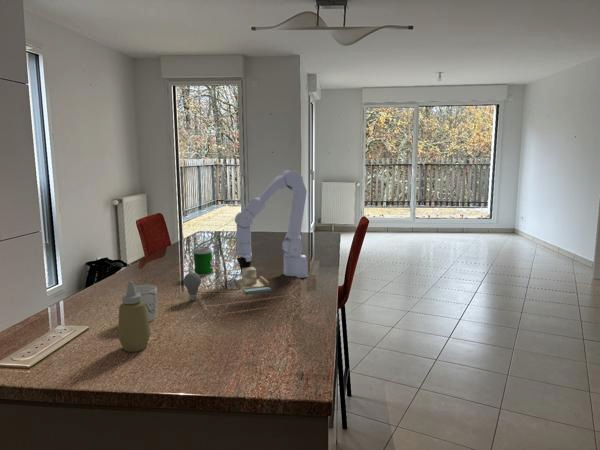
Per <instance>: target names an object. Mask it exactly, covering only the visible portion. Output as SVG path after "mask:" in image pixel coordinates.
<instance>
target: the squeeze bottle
mask: <svg viewBox="0 0 600 450" xmlns="http://www.w3.org/2000/svg"><path fill="white" fill-rule="evenodd" d="M135 286H136V285H135V282H134V281H132V280H131V281H128V282H127V290H126V293H125V294H124V295H122V298H121V301H122V303H121V304H120V305H119V306H118V326H117V327H118V328H117V330H118V333H117V338H118V340H119V343H120V344H121V346H122V349H123V350H124V351H126V352H129V353H130V352H131V353H134V352H139V351H142V350H145V349H146V347H148V344H149V341H150V336H151V327H150V322H149V320H148V315H147V309H146V304H145V303H144V302H143V301H141V300H142V299H141V294H140V293H137V292H136V289H135Z"/></svg>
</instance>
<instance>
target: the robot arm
mask: <svg viewBox="0 0 600 450" xmlns="http://www.w3.org/2000/svg"><path fill="white" fill-rule="evenodd" d="M285 188H288V189H289V191H291V193H292V194H293V195H292V203H291V210H290V216H289V221H288V222H289V223H288V229H287V232H286V234H285V236H284V240H283V241H282V243H281V248H282V250H283V251H284V253H283V274H284V276H287V277H296V278H298V279H301V278H308V277H309V275H308V260H307V255H305V254H302V253H303V245H302V235H301V231H302V225H303V218H304V214H305V213H304V212H305V204H306V198H307V188H306V186H305V183H304V179H303V176H302V175H301V174H300V173H299V172H298V171H296V170H289V169H285V170H283V171H281V173H279V174H278V175H277V176H276V177H275V178H274V179H273V180H272V181H271V183H269V184H268V186H267V187H266V188H265V190H264V191H262V193H261V194H260V195H259V196H258V197H253V198H250V199H249V200H248V201H249V202H248V203H247V205H246V206H244V207H243V208H241V209H240V210H241V211H239V212H238V213H237V214H236V215H235V218H234V222H235V224H236V232H235V234H236V236H235V237H236V252H235V253H234V257H236V260H237V263H238V265H239V269H240V274H241V275H242V268H248V267H251V263H252V262H253V258H252V255H253V252H252V232H251V231H252V230H251V225H252V224H253V220H254V219H256V217H257V216H258V215H259V214H260V213H261V212H262V211H263V210H264V209H265V208H266V207H265V206H266V205H265V204H266V202H268V200H269V199H270V198H271V197H273V195H275V194H276V193H277V191H279V190H281V189H285Z"/></svg>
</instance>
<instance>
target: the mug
mask: <svg viewBox="0 0 600 450" xmlns="http://www.w3.org/2000/svg"><path fill="white" fill-rule="evenodd" d="M134 286H135V289H136V292H137V293H140V294H141V299H142V300H141V301H143V302H144V303H145V304H146V309H147V315H148V320H149V323H150V322H153V321H154V320H155V319H156V313H157V303H158V287H157V286H156V285H153V284H140V285H139V284H138V285H134Z"/></svg>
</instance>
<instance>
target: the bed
mask: <svg viewBox="0 0 600 450" xmlns="http://www.w3.org/2000/svg"><path fill="white" fill-rule="evenodd" d="M232 283H233V284H234V285H235V286H236V287H237V289H239V290H245V289H253V288H261V287H268V286H270V282H269V280H267V279H266V278H264V277H263V275H259V278H257V283H256V284H247V285H245V284H244V283H243V282H242V280H241V281H238V280H237V279H236V278H232Z"/></svg>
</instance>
